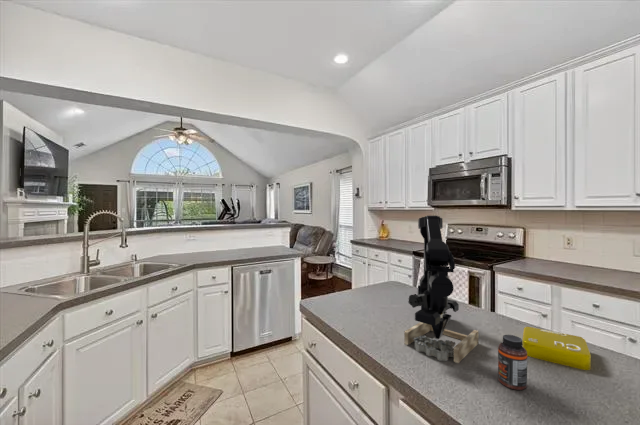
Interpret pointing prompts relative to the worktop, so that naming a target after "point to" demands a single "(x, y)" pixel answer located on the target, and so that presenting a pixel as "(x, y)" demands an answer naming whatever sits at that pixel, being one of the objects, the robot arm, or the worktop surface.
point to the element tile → (557, 348)
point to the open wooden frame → (460, 348)
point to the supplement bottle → (512, 363)
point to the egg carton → (431, 343)
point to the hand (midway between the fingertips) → (437, 338)
